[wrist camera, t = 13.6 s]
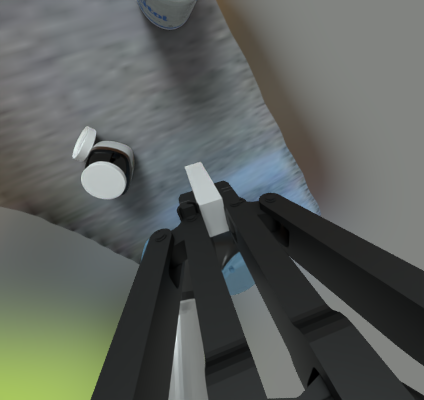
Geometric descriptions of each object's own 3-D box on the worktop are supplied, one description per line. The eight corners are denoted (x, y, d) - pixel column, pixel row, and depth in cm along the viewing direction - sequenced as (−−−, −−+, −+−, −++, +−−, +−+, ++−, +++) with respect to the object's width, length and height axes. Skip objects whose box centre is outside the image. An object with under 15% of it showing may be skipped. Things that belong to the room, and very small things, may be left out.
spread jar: (133, 183, 44) (126, 208, 35) (79, 175, 40) (54, 202, 31) (137, 133, 39) (130, 147, 29) (75, 120, 35) (44, 131, 26)
